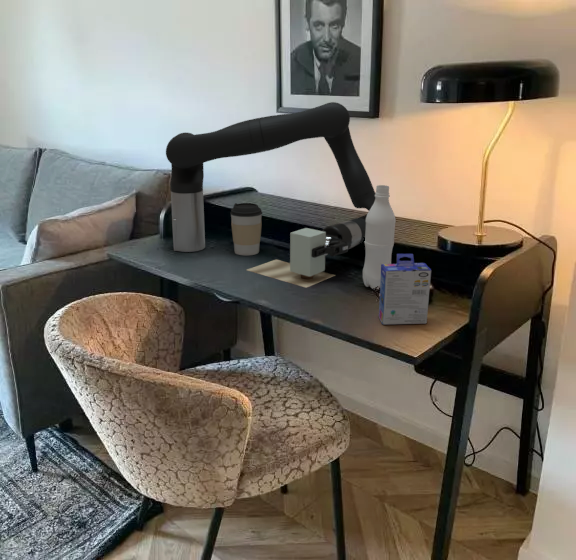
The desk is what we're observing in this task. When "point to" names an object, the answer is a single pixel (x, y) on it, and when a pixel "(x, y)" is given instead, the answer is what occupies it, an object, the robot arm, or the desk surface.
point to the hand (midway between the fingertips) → (301, 250)
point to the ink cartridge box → (404, 292)
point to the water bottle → (378, 237)
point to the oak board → (288, 273)
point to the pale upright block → (306, 251)
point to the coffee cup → (246, 228)
